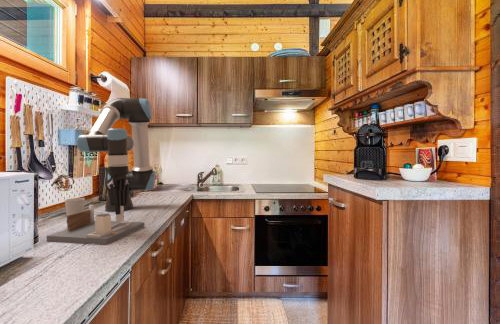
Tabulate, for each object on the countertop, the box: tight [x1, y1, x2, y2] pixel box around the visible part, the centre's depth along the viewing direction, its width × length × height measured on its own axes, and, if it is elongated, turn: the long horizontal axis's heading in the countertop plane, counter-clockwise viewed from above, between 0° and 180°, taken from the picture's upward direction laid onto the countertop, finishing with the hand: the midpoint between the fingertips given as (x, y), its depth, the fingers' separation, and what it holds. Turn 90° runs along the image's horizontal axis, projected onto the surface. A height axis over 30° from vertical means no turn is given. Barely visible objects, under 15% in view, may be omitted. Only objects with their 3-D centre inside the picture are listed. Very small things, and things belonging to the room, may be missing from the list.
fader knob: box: [94, 213, 112, 235], centre depth 107 cm, size 4×4×7 cm
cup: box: [64, 197, 86, 216], centre depth 129 cm, size 8×8×12 cm
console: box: [46, 204, 145, 245], centre depth 115 cm, size 24×26×10 cm
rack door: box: [66, 209, 91, 230], centre depth 118 cm, size 2×12×6 cm, turn 170°
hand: (120, 221), depth 117 cm, fingers closed
